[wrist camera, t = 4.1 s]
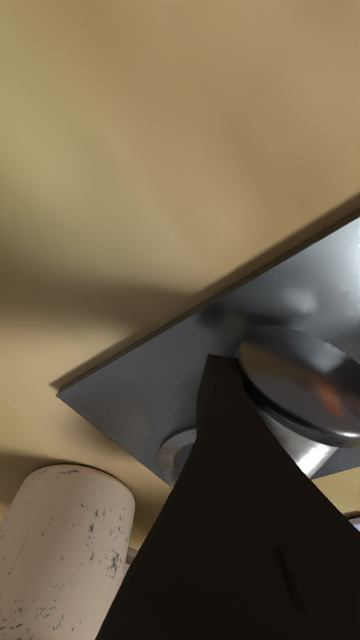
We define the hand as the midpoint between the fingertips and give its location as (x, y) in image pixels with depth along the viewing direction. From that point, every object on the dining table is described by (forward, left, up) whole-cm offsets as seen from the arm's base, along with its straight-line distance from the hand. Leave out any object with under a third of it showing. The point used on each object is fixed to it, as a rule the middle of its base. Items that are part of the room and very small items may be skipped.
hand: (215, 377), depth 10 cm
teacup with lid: (-9, +16, -3) cm, 18 cm away
